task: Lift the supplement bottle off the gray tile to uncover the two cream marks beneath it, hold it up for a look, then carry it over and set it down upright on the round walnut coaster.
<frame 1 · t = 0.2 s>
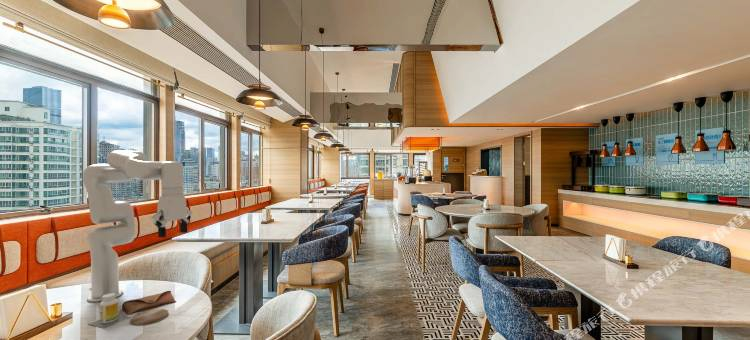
hand: (173, 234, 131), 31 cm above the table, tool pointing down, fingers open, 9 cm apart
sunglasses case: (150, 307, 137), on the table
walnut coaster: (149, 317, 125), on the table
supplement bottle: (109, 320, 123), resting on gray tile
gray tile: (109, 320, 123), on the table
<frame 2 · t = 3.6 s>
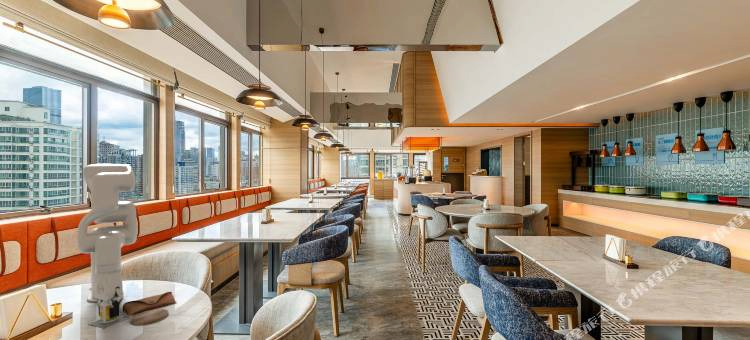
hand: (109, 315, 123), 2 cm above the table, tool pointing down, fingers closed on supplement bottle, 5 cm apart
sunglasses case: (151, 308, 136), on the table
supplement bottle: (109, 320, 123), resting on gray tile, touching gripper
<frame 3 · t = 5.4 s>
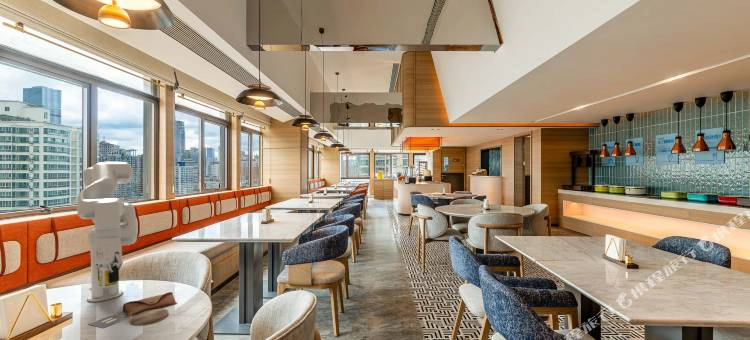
hand: (108, 280, 123), 15 cm above the table, tool pointing down, fingers closed on supplement bottle, 5 cm apart
supplement bottle: (108, 286, 124), point 13 cm above the table, touching gripper
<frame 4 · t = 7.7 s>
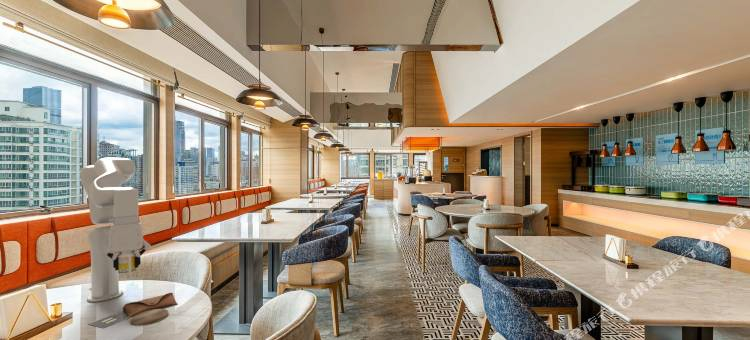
hand: (127, 267, 124), 20 cm above the table, tool pointing down, fingers closed on supplement bottle, 5 cm apart
sunglasses case: (151, 309, 134), on the table
supplement bottle: (127, 273, 124), point 18 cm above the table, touching gripper
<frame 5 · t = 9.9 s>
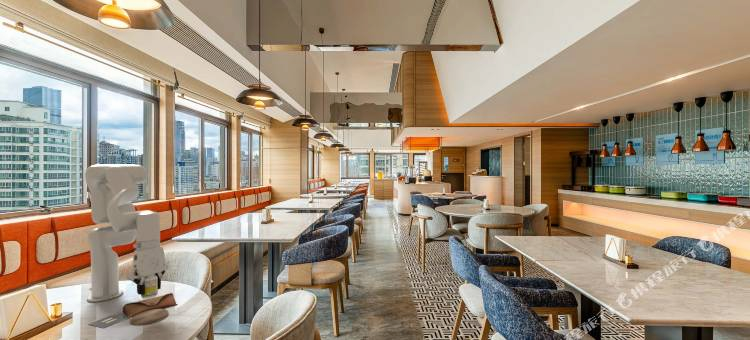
hand: (149, 291, 125), 10 cm above the table, tool pointing down, fingers closed on supplement bottle, 5 cm apart
supplement bottle: (149, 296, 125), point 8 cm above the table, touching gripper
when the fingers open (4 cm above the table, at t = 11.9 s): supplement bottle drops 2 cm, resting on walnut coaster.
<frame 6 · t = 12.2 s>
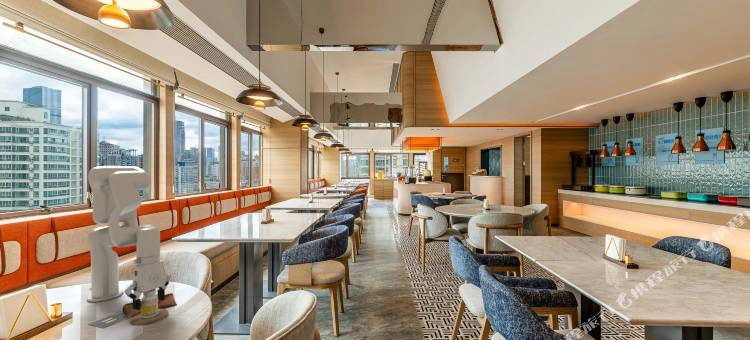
hand: (149, 304, 125), 5 cm above the table, tool pointing down, fingers open, 8 cm apart
supplement bottle: (150, 315, 126), point 1 cm above the table, touching walnut coaster
everything else where it was.
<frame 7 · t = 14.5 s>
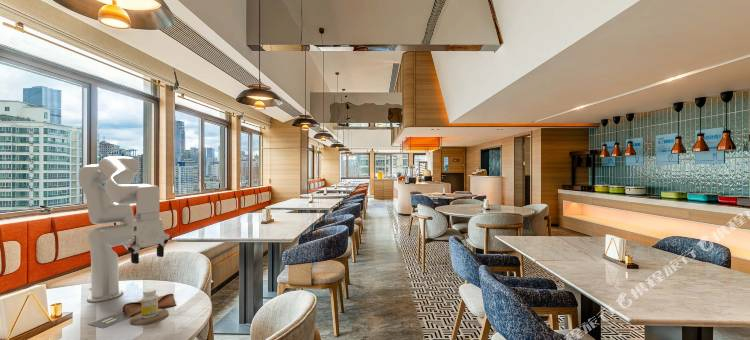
hand: (148, 259, 129), 21 cm above the table, tool pointing down, fingers open, 9 cm apart
nothing on the table moved.
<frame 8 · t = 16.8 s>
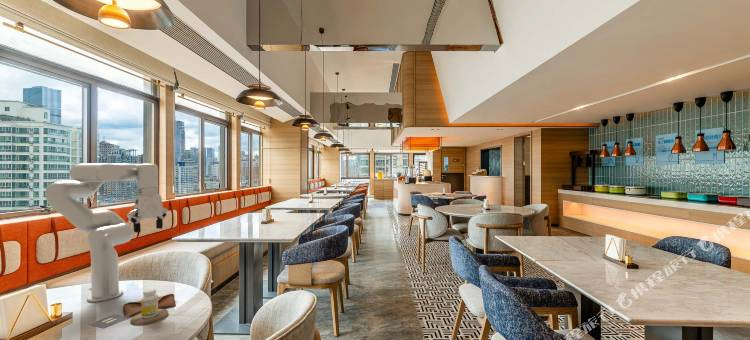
hand: (148, 230, 144), 30 cm above the table, tool pointing down, fingers open, 9 cm apart
nothing on the table moved.
at the end: supplement bottle 0.2 cm off-centre on the walnut coaster, point 0.6 cm above the walnut coaster's base; supplement bottle tilted 0°; the gripper is holding nothing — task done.
